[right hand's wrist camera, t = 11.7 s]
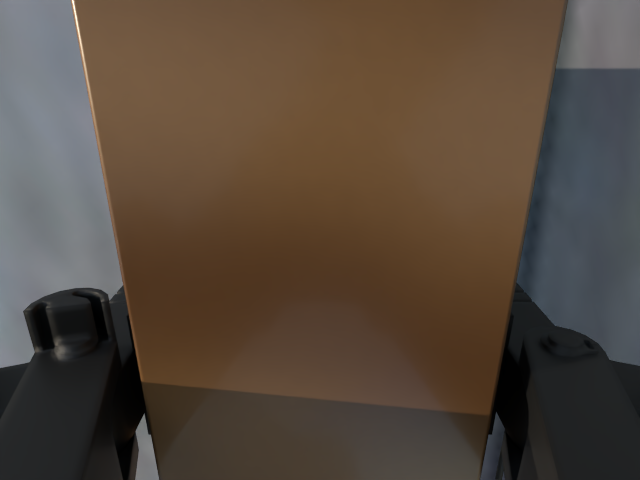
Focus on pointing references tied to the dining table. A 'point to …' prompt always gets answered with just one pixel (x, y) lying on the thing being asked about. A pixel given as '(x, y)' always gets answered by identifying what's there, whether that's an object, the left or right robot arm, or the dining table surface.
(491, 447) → the dining table surface
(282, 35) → the beam
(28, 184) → the dining table surface
